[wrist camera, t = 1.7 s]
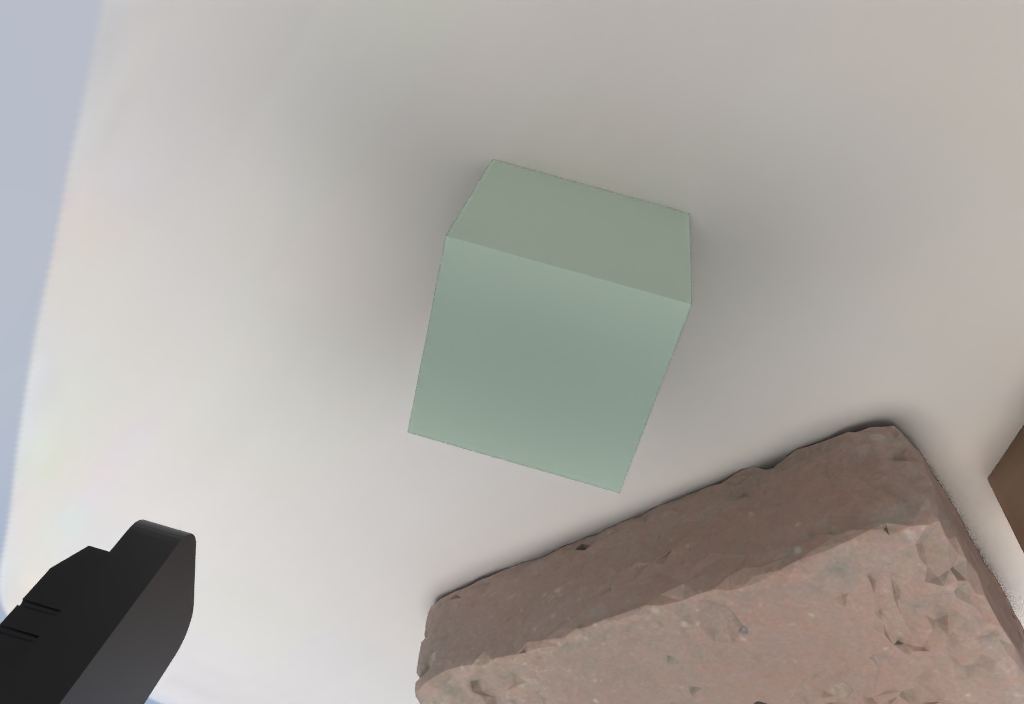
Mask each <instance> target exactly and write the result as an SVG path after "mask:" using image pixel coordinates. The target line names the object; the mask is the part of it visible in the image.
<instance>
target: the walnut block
mask: <svg viewBox="0 0 1024 704" xmlns="http://www.w3.org/2000/svg"><path fill="white" fill-rule="evenodd" d="M988 481H989V483H990V485H991V487H992V489H993V491H994V493H995V495H996V497H997V499H998V502H999V504H1000V506H1001V508H1002V510H1003V512H1004V514H1005V516H1006V518H1007V520H1008V522H1009V524H1010V526H1011V528H1012V530H1013V532H1014V534H1015V536H1016V538H1017V540H1018V542H1019V544H1020V546H1021V548H1022V550H1023V552H1024V426H1023V427H1022V429H1021V430H1020V431H1019V433H1018V434H1017V436H1016V437H1015V439H1014V440H1013V442H1012V443H1011V445H1010V446H1009V448H1008V449H1007V451H1006V452H1005V454H1004V455H1003V457H1002V458H1001V460H1000V461H999V463H998V464H997V465H996V467H995V468H994V470H993V471H992V473H991V474H990V476H989V477H988Z"/></svg>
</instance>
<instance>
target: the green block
mask: <svg viewBox="0 0 1024 704" xmlns="http://www.w3.org/2000/svg"><path fill="white" fill-rule="evenodd" d="M691 305H692V294H691V256H690V218H689V213H686V212H682V211H679V210H675V209H671V208H668V207H664V206H660V205H657V204H653V203H650V202H646V201H642V200H639V199H635V198H632V197H628V196H624V195H621V194H617V193H613V192H610V191H606V190H603V189H599V188H595V187H592V186H588V185H585V184H581V183H577V182H574V181H570V180H566V179H563V178H559V177H556V176H552V175H548V174H545V173H541V172H537V171H534V170H530V169H527V168H523V167H519V166H516V165H512V164H509V163H505V162H501V161H498V160H494V159H493V160H492V161H491V163H490V164H489V166H488V168H487V169H486V171H485V173H484V174H483V176H482V178H481V179H480V181H479V183H478V184H477V186H476V187H475V189H474V191H473V192H472V194H471V196H470V197H469V199H468V201H467V202H466V204H465V206H464V207H463V209H462V210H461V212H460V214H459V215H458V217H457V219H456V220H455V222H454V224H453V225H452V227H451V229H450V230H449V232H448V233H447V235H446V238H445V244H444V249H443V254H442V259H441V264H440V269H439V274H438V279H437V284H436V289H435V295H434V300H433V305H432V310H431V315H430V320H429V325H428V330H427V335H426V341H425V346H424V351H423V356H422V361H421V366H420V371H419V376H418V381H417V386H416V392H415V397H414V402H413V407H412V412H411V417H410V422H409V427H408V433H412V434H415V435H419V436H422V437H426V438H429V439H433V440H436V441H440V442H443V443H447V444H450V445H454V446H457V447H461V448H464V449H468V450H471V451H475V452H478V453H482V454H485V455H489V456H492V457H496V458H499V459H503V460H506V461H510V462H513V463H516V464H520V465H523V466H527V467H530V468H534V469H537V470H541V471H544V472H548V473H551V474H555V475H558V476H562V477H565V478H569V479H572V480H576V481H579V482H583V483H586V484H590V485H593V486H597V487H600V488H604V489H607V490H611V491H614V492H618V493H620V490H621V488H622V485H623V483H624V480H625V477H626V475H627V472H628V470H629V467H630V464H631V462H632V459H633V457H634V454H635V451H636V449H637V446H638V443H639V441H640V438H641V436H642V433H643V430H644V428H645V425H646V423H647V420H648V417H649V415H650V412H651V410H652V407H653V404H654V402H655V399H656V396H657V394H658V391H659V389H660V386H661V383H662V381H663V378H664V376H665V373H666V370H667V368H668V365H669V363H670V360H671V357H672V355H673V352H674V349H675V347H676V344H677V342H678V339H679V336H680V334H681V331H682V329H683V326H684V323H685V321H686V318H687V316H688V313H689V310H690V308H691Z"/></svg>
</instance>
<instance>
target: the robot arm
mask: <svg viewBox="0 0 1024 704" xmlns="http://www.w3.org/2000/svg"><path fill="white" fill-rule="evenodd" d="M195 555H196V540H195V536H194V535H193V534H191V533H187V532H184V531H181V530H177V529H174V528H170V527H167V526H163V525H160V524H157V523H153V522H150V521H146V520H139V521H137V522H135V523H134V524H133V525H132V526H131V527H130V528H129V529H128V530H127V532H126V533H125V534H124V535H123V536H122V538H121V539H120V540H119V541H118V542H117V544H116V545H115V546H114V547H113V548H112V550H111V551H110V552H108V551H105V550H101V549H98V548H95V547H91V546H88V547H86V548H84V549H82V550H81V551H79V552H77V553H76V554H74V555H72V556H70V557H69V558H67V559H65V560H64V561H62V562H60V563H59V564H57V565H55V566H53V567H52V568H50V569H49V570H48V572H47V573H46V574H45V575H44V576H43V577H42V578H41V579H40V580H39V582H38V583H37V584H36V585H35V586H34V587H33V588H32V589H31V590H30V592H29V593H28V594H27V595H26V596H25V597H24V598H23V601H22V603H21V605H20V606H18V605H17V606H16V607H15V608H14V609H13V611H12V612H11V613H10V614H9V615H8V616H7V617H6V618H5V619H4V621H3V622H2V623H1V624H0V704H144V703H145V702H146V700H147V698H148V697H149V695H150V694H151V692H152V691H153V689H154V687H155V686H156V684H157V683H158V681H159V680H160V678H161V677H162V675H163V673H164V672H165V670H166V669H167V667H168V666H169V664H170V662H171V661H172V659H173V658H174V656H175V655H176V653H177V651H178V650H179V648H180V646H181V644H182V642H183V640H184V638H185V635H186V633H187V630H188V627H189V624H190V621H191V618H192V613H193V606H194V582H195ZM754 704H767V703H763V702H760V701H757V702H755V703H754Z"/></svg>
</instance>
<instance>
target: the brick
mask: <svg viewBox="0 0 1024 704" xmlns="http://www.w3.org/2000/svg"><path fill="white" fill-rule="evenodd" d="M417 674H418V676H419V677H420V679H419V680H418V681H417V682H416V686H415V693H416V697H417V699H418V701H419V702H420V704H754V703H755V702H757V701H760V702H763V703H767V704H1024V629H1023V627H1022V625H1021V622H1020V621H1019V619H1018V618H1017V616H1016V615H1015V613H1014V611H1013V609H1012V607H1011V605H1010V603H1009V601H1008V599H1007V597H1006V595H1005V593H1004V592H1003V591H1002V588H1001V587H1000V585H999V583H998V581H997V579H996V578H995V576H994V575H993V574H992V573H991V571H990V570H989V569H988V568H987V566H986V565H985V563H984V561H983V559H982V558H981V556H980V553H979V550H978V549H977V548H976V546H975V545H974V543H973V542H972V540H971V538H970V536H969V534H968V531H967V529H966V527H965V524H964V522H963V520H962V519H961V517H960V515H959V514H958V512H957V510H956V509H955V507H954V506H953V504H952V502H951V501H950V499H949V497H948V495H947V494H946V492H945V490H944V489H943V488H942V486H941V485H940V484H939V483H938V481H937V480H936V479H935V477H934V476H933V474H932V472H931V470H930V468H929V466H928V464H927V462H926V461H925V459H924V457H923V456H922V454H921V453H920V451H919V450H918V449H916V448H915V447H914V446H913V445H912V444H911V442H910V441H909V440H908V439H907V438H906V437H905V436H904V434H903V433H902V432H901V431H899V430H898V429H897V428H896V427H895V426H885V427H870V428H867V429H864V430H861V431H858V432H846V433H844V434H841V435H839V436H836V437H833V438H831V439H828V440H825V441H822V442H820V443H817V444H814V445H811V446H808V447H804V448H801V449H797V450H795V451H794V452H793V453H791V454H790V455H788V456H787V457H786V458H784V459H783V460H782V461H780V462H779V463H778V464H777V465H776V466H775V467H774V468H772V469H761V468H758V467H756V466H755V467H751V468H747V469H744V470H741V471H739V472H737V473H736V474H734V475H733V476H731V477H730V478H728V479H727V480H725V481H724V482H723V483H721V484H716V485H710V486H708V487H705V488H703V489H701V490H698V491H696V492H693V493H691V494H688V495H686V496H683V497H681V498H679V499H677V500H674V501H672V502H668V503H664V504H662V505H659V506H656V507H654V508H653V509H651V510H649V511H648V512H646V513H645V514H643V515H641V516H638V517H634V518H630V519H628V520H625V521H623V522H621V523H619V524H617V525H615V526H612V527H610V528H608V529H606V530H604V531H602V532H601V533H599V534H598V535H594V536H590V537H586V538H584V539H582V540H579V541H577V542H575V543H571V544H569V545H566V546H564V547H562V548H560V549H558V550H556V551H554V552H552V553H550V554H548V555H546V556H544V557H542V558H540V559H535V560H531V561H527V562H523V563H520V564H518V565H516V566H513V567H511V568H507V569H504V570H502V571H500V572H498V573H496V574H494V575H492V576H490V577H487V578H484V579H482V580H479V581H477V582H475V583H473V584H472V585H470V586H468V587H465V588H463V589H460V590H457V591H455V592H453V593H451V594H449V595H447V596H445V597H443V598H441V599H440V600H439V601H438V602H437V603H435V604H434V605H433V606H432V607H431V609H430V611H429V613H428V617H427V622H426V630H425V639H424V640H423V641H422V643H421V648H420V653H419V659H418V666H417Z"/></svg>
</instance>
